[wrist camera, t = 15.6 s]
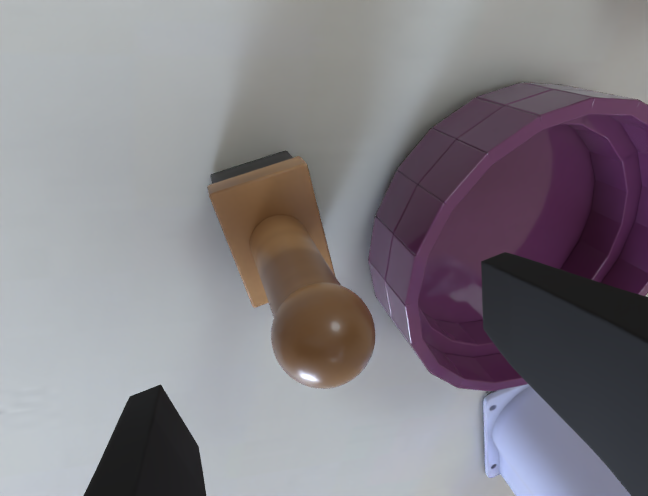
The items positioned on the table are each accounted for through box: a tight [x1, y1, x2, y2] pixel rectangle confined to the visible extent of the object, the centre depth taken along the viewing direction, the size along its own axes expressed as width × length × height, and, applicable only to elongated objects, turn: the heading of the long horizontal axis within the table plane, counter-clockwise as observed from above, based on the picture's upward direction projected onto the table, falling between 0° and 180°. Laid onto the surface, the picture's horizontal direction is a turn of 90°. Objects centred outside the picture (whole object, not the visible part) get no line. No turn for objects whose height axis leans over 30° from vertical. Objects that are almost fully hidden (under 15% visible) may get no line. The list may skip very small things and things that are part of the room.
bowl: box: [368, 82, 648, 391], centre depth 21 cm, size 14×14×4 cm
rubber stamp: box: [207, 151, 375, 389], centre depth 15 cm, size 5×4×10 cm
